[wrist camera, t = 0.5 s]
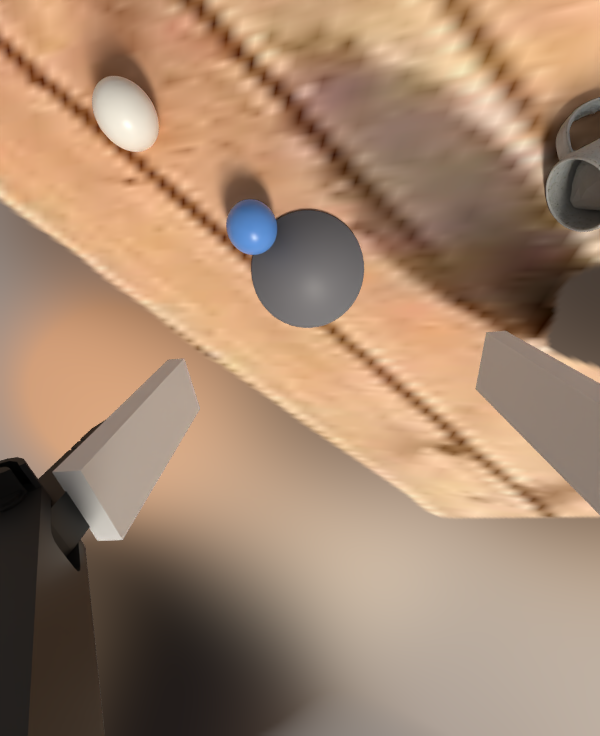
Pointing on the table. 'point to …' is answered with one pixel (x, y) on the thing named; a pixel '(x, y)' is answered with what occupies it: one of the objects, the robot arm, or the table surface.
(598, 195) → the ceramic mug
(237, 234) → the blue ball
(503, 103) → the table surface
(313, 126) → the table surface
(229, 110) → the table surface
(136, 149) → the white ball
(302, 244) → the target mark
